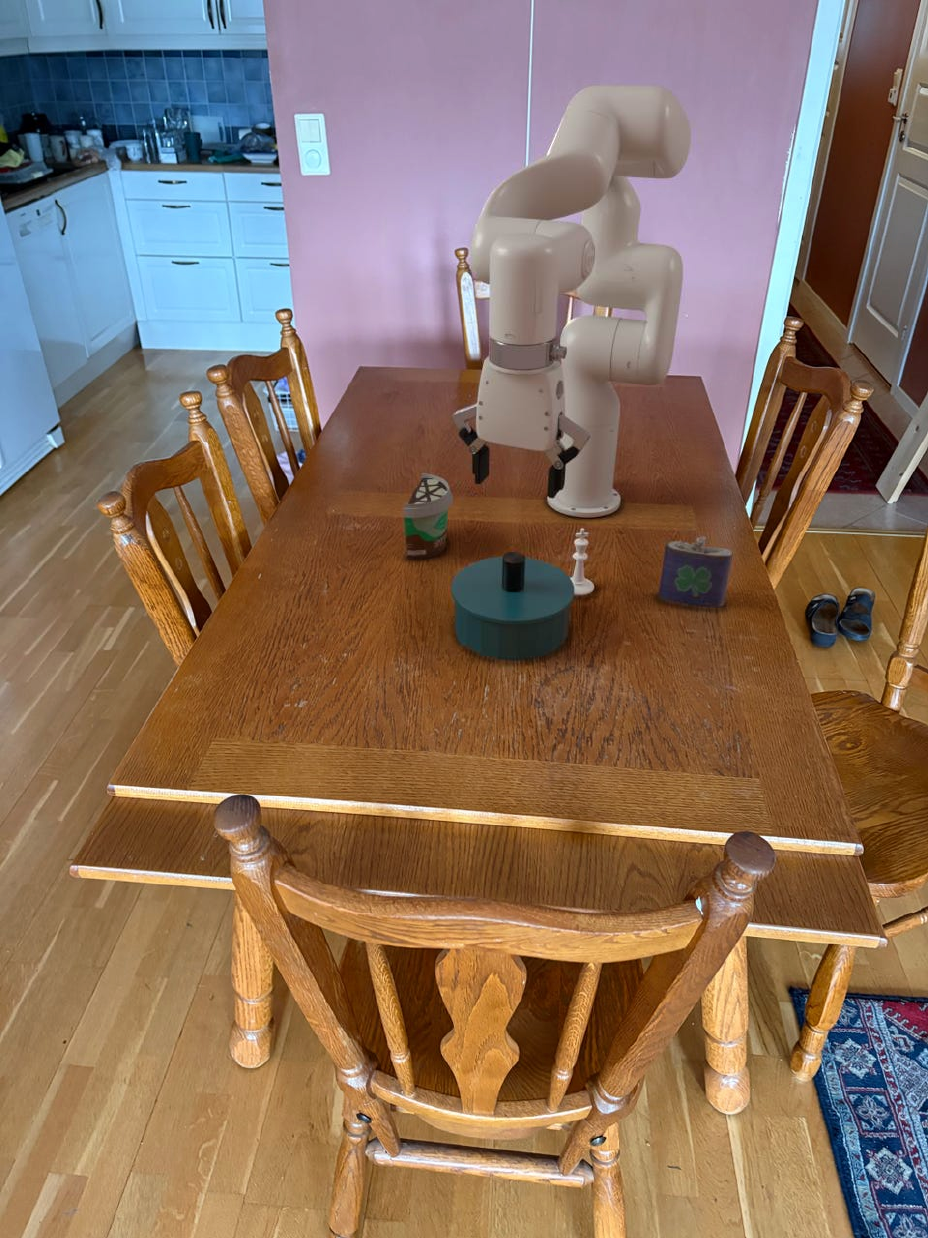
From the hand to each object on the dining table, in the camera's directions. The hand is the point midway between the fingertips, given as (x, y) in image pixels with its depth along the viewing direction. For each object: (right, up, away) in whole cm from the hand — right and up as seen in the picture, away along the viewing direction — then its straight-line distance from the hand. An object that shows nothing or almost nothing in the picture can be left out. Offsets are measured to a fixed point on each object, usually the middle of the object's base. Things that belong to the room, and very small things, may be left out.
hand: (517, 486), depth 114 cm
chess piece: (+10, -12, +21) cm, 26 cm away
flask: (+26, -14, +18) cm, 34 cm away
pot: (0, -18, +12) cm, 22 cm away
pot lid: (0, -13, +8) cm, 15 cm away
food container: (-12, -5, +31) cm, 34 cm away
